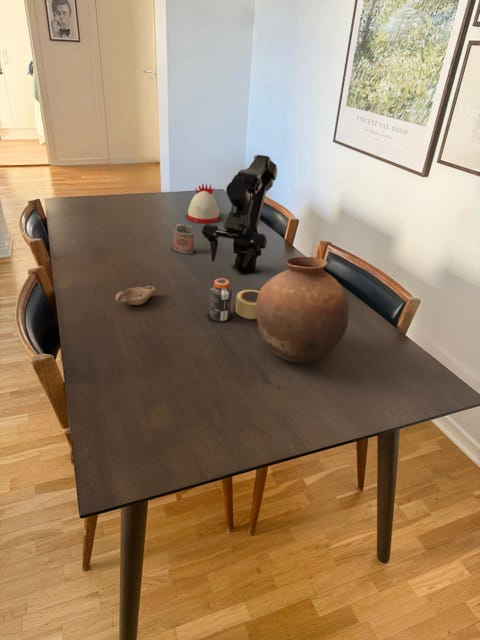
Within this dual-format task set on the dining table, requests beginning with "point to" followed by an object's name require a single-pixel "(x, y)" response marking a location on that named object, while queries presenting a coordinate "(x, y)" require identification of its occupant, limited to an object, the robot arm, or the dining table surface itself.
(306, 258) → the pottery
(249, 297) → the tape roll
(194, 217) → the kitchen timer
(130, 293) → the oil lamp
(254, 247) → the robot arm
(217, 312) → the pill bottle
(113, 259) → the dining table surface
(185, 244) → the red upright container
